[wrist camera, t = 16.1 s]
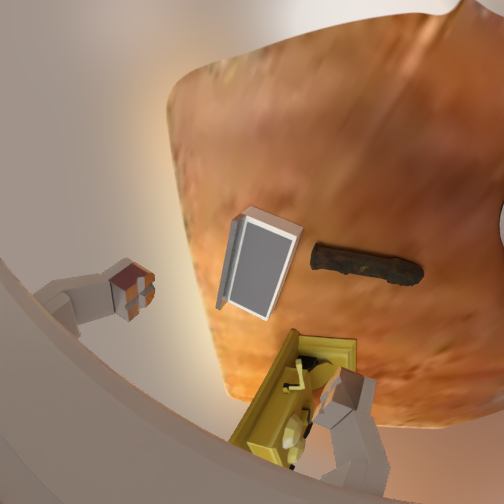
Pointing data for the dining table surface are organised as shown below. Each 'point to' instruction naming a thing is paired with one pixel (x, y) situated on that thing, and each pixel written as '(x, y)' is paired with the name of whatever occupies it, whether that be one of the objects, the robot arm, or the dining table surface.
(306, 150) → the dining table surface
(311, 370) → the vintage telephone
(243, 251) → the grey open box
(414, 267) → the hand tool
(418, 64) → the dining table surface
